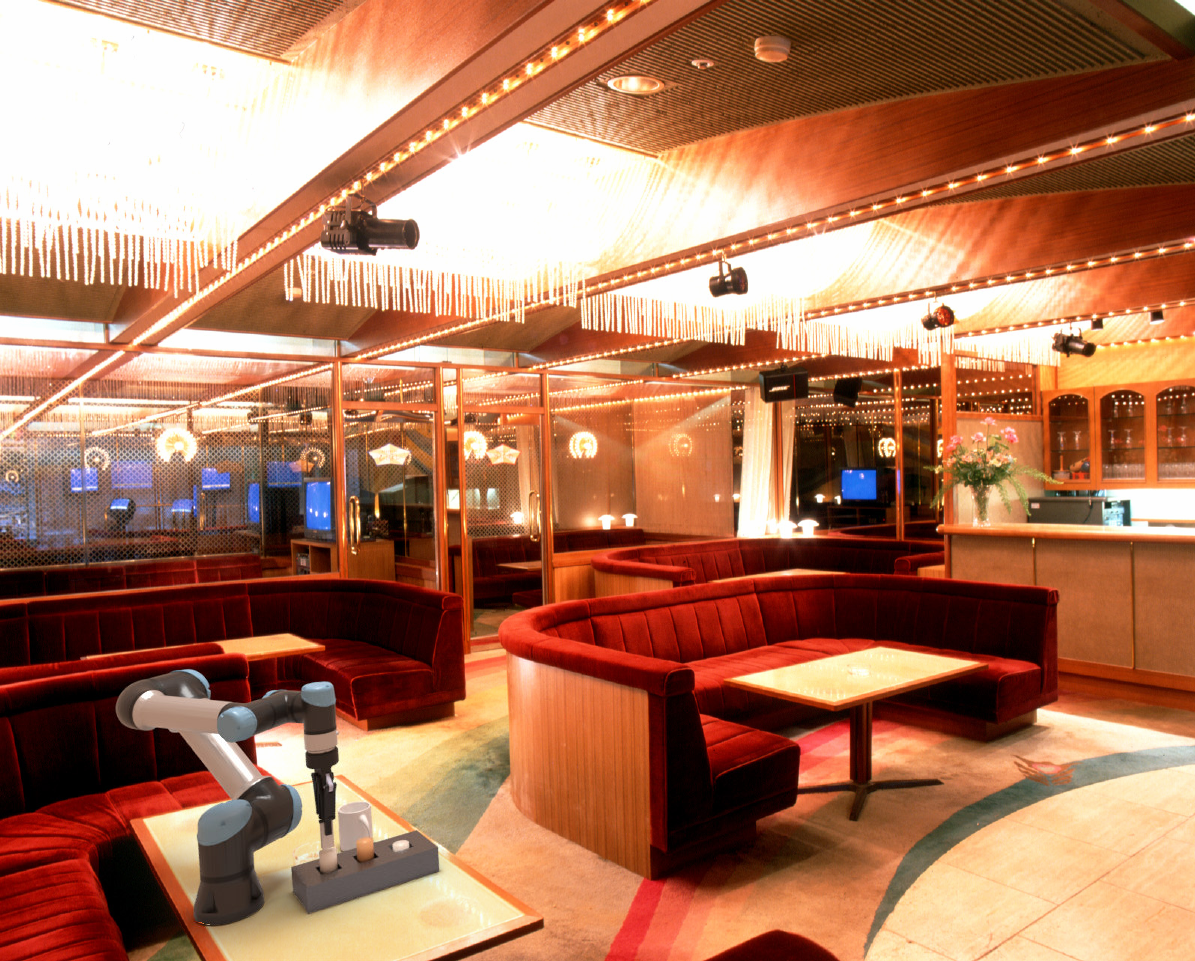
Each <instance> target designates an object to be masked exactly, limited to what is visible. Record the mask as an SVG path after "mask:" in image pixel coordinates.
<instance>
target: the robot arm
mask: <svg viewBox="0 0 1195 961" xmlns="http://www.w3.org/2000/svg"><path fill="white" fill-rule="evenodd" d="M209 688H210V684H209V682H208V680H207V679H206V678H205V676H204V675H203V674H202V673H200V672H198V671H197V670H194V669H190V668H189V669H188V668H187V669H181V670H180V669H179V670H173V671H170V672H169V673H166V674H162V675H157V676H154V677H150V678H146V679H140V680H137V681H135V682H133V683H131V684H130V685H128V686H126V687H125V688H124V690H122V692H121V693H120V694H119V696H118V698H117V701H116V704H115V713H116V716H117V718H118V721H120V723H121V724H122V725H123V726H125V727H127V728H130V729H134V730H139V731H152V730H155V728H160V729H168V730H169V732H171V733H179V734H180V736H182V738H183V739H184V740H185V742H186V743H187V745H188V746H189V747H190V748H191V749H192V751H193V752H194V753H195V755H196V756H197V757H198V758H199V760H201V762H202V763H203V764H204V766H205V768H206V769H207V770H208V772H210V774H211V775H212V776H213V778H214V779H215V780H216V781H217V782H218V784H219V785H220V787H222V789H223V790H224V792H225V793H226V794H227V795H228V796H229V798H230V799H231V800H227V801H225V802H220V803H218V804H216V805H214V806H211V807H210V808H208V809H206V811H204V812H203V813H202V814H201V816H200V817H199V819H198V822H197V833H196V840H197V848H198V850H197V851H198V864H199V878H200V879H199V881H200V882H199V886H198V890H197V894H196V897H195V901H194V904H193V919H194V918H195V920H194V921H195V922H196V921H197V922H202V923H204V924H210V925H209V926H221V925H226V924H230V923H234V922H237V921H240V920H243V919H245V918H248V917H251V916H252V915H253V914H255V913H256V912H259V910H260V909H261V908H262V907H263V905H264V904H265V892H264V887H263V886H262V884H261V882H260V879H259V877H258V875H257V872H256V870H255V852H257V851H258V850H261V849H262V848H265V847H267V846H268V845H270V844H272V843H274V842H276V841H277V840H279V839H282V838H284V837H286V836H287V835H288V834H290V833H291V832H293V831H294V830H296V828H297V827H298V826H299V824H300V822H301V820H302V815H303V803H302V802H303V801H302V798H301V795H300V793H299V791H297V789H296V787H294V786H292V785H291V784H286V783H285V784H284V783H281V784H278V782H277V781H276V780H275V779H274V778H273V777H272V776H271V775H262V773H261V772H260V771H259V770H258V768H257V767H256V766H255V765H254V763H253V762H252V761H251V760H250V759H249V757H248V756H247V755H246V753H245V752H244V751H243V750H242V748H241V747H240V746H239V745H238V743H236V742H241V741H245V740H248V739H250V738H251V737H254V736H256V735H259V734H262V733H264V732H267V731H269V730H272V729H275V728H277V727H279V726H280V727H281V726H282V725H285V724H286V725H287V724H288V723H289V724H303V740H304V741H303V742H304V743H303V744H304V750H305V751H306V752H305V753H304V754H305V755H304V757H305V767H306V768H308V769H309V770H313V772H311V773H310V777H311V781H312V782H311V783H312V789H313V794H314V797H313V798H314V804H315V814H316V815H317V816H318V823H319V834H320V847H321V850H324V849H328V848H335V836H334V835H335V834H334V822H333V821H335V820H336V809H337V808H336V806H337V804H336V803H337V802H336V801H337V799H336V797H337V796H336V794H337V785H338V784H337V782H336V781H335V782H334V779H335V775H334V772H333V771H332V768H333V766H336V765H337V764H338V763H339V761H340V759H339V747H338V746H337V745H338V744H339V743H338V736H339V735H340V731H339V730H337V710H336V709H337V708H336V707H337V706H336V705H337V704H336V702H337V701H336V700H337V698H336V694H335V688H334V685H333V684H332V683H331V682H330V681H318V682H317V681H315V682H311V683H307V684H304V685H303V686H302V687H301V690H287V689H278V690H275V689H274V690H270V691H267V692H266V693H265V694H264V695H263V697H262V698H259V699H257V700H253V701H250V702H246V703H241V702H233V701H225V700H213V699H211V693H212V692H211V690H210V689H209ZM197 922H196V923H197Z"/></svg>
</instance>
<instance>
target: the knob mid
mask: <svg viewBox="0 0 1195 961" xmlns="http://www.w3.org/2000/svg"><path fill="white" fill-rule="evenodd" d="M373 843H374V837H373V838H371V837H364V838H361V839H358V840H357V841H356V846H357V862H358V863H361V862H365V861H368V860H371V859H374V846H373Z"/></svg>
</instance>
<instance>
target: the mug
mask: <svg viewBox="0 0 1195 961" xmlns="http://www.w3.org/2000/svg"><path fill="white" fill-rule="evenodd" d="M337 818H338V819H337V821H338V833H339V835H338V836H339V848H340V849H341V852H344V851H347V850H351V849H354V848H357V846H356V841H357V840H358V839H361V838H364V837H371V838H373V839H374V837H373V835H374V834H373V820H372V818H373V817H372V804H371V802H368V801H365V800H364V801H363V800H362V801H360V800H359V801H351V802H348V803H346V804H345V803H344V804H343V805H341V806H339V807H338V808H337Z"/></svg>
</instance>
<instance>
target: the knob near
mask: <svg viewBox="0 0 1195 961" xmlns="http://www.w3.org/2000/svg"><path fill="white" fill-rule="evenodd" d="M318 857H319V858H318V859H319V862H320V874H321V875H322V874H325V873H328V872H332V871H335V870H338V867H337V848H336V847H331V848H328V849H324V850H323V849H321V850H319V851H318Z"/></svg>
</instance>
